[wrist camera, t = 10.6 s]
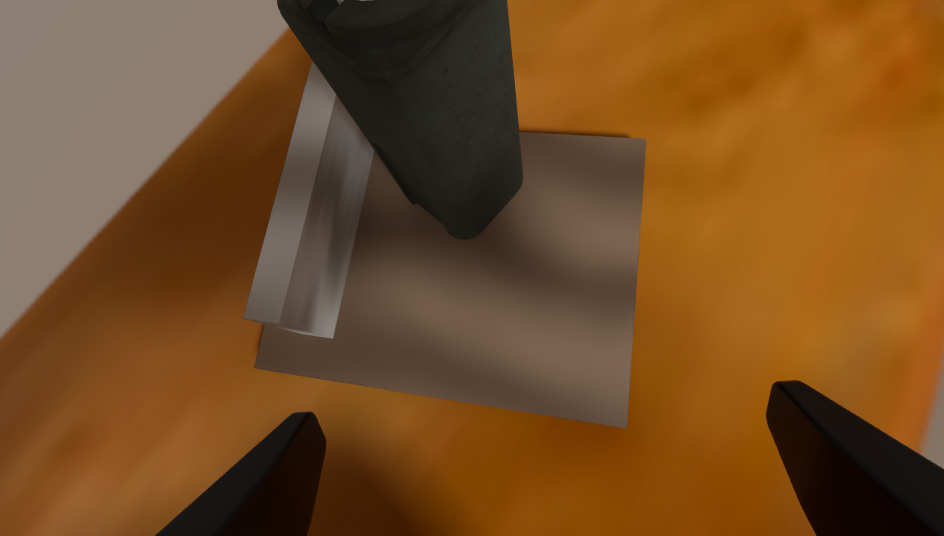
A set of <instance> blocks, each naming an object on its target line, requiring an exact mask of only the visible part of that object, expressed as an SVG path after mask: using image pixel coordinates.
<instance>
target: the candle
mask: <svg viewBox="0 0 944 536" xmlns="http://www.w3.org/2000/svg"><path fill="white" fill-rule="evenodd" d="M277 5H278V8H279V10H280V13H281V15H282V17H283V18H284V19H285V21H286V22H287V24H288V25H289V27H290V28H291V30H292V31H293V33H294V34H295V35H296V37H297V38H298V40H299V41H300V43H301V44H302V46H303V47H304V49H305V50H306V51H307V53H308V54H309V56H310V57H311V59H312V60H313V62H314V63H315V65H316V66H317V67H318V69H319V70H320V72H321V73H322V75H323V76H324V78H325V79H326V81H327V82H328V84H329V85H330V86H331V88H332V89H333V91H334V92H335V94H336V95H337V97H338V98H339V100H340V101H341V102H342V104H343V105H344V107H345V108H346V110H347V111H348V113H349V114H350V116H351V117H352V118H353V120H354V121H355V123H356V124H357V126H358V127H359V129H360V130H361V132H362V133H363V134H364V136H365V137H366V139H367V140H368V142H369V143H370V145H371V146H372V148H373V149H374V150H375V152H376V153H377V155H378V156H379V158H380V159H381V161H382V162H383V164H384V165H385V166H386V168H387V169H388V171H389V172H390V174H391V175H392V177H393V178H394V180H395V181H396V182H397V184H398V185H399V187H400V188H401V190H402V191H403V193H404V194H405V196H406V197H407V198H408V200H409V201H410V202H411V203H412V204H413V205H415V204H419V205H420V206H421V207H422V208H423V209H425V210H426V211H427V212H428V213H430V214H431V215H432V216H433V217H434V218H436V219H437V220H438V221H439V222H441V223H442V224H443V225H444V227H445V228H446V230H447V232H448V234H450V235H451V236H453V237H454V238H457V239H466V240H467V239H471V238H474V237H476V236H478V235H479V234H480V233H481V232H482V231H483V230H484V229H485V228H486V227H487V226H488V225H489V224H490V223H491V221H492V220H493V219H494V218H495V217H496V216H497V215H498V214H499V212H500V211H501V210H502V209H503V208H504V207H505V206H506V205H507V203H508V202H509V201H510V200H511V199H512V198H513V197H514V196H515V194H516V193H517V192H518V191H519V189H520V188H521V186H522V183H523V168H522V157H521V146H520V135H519V124H518V114H517V103H516V92H515V81H514V70H513V60H512V49H511V38H510V27H509V17H508V6H507V0H277Z"/></svg>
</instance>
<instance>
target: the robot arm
mask: <svg viewBox="0 0 944 536" xmlns="http://www.w3.org/2000/svg"><path fill="white" fill-rule="evenodd" d="M766 419H767V424H768V427H769V429H770V432H771V434H772V437H773V439H774V442H775V444H776V446H777V449H778V451H779V454H780V456H781V459H782V461H783V464H784V466H785V469H786V471H787V473H788V476H789V478H790V481H791V483H792V486H793V488H794V491H795V493H796V495H797V498H798V500H799V502H800V505H801V507H802V509H803V511H804V513H805V515H806V517H807V519H808V521H809V522H810V524H811V526H812V528H813V530H814V532H815V534H816V535H817V536H944V469H943V468H941V467H940V466H938V465H937V464H935V463H933V462H931V461H930V460H928V459H927V458H925V457H924V456H922V455H920V454H919V453H917V452H915V451H914V450H912V449H911V448H909V447H907V446H906V445H904V444H902V443H901V442H899V441H898V440H896V439H894V438H893V437H891V436H889V435H888V434H886V433H885V432H883V431H881V430H880V429H878V428H876V427H875V426H873V425H872V424H870V423H868V422H867V421H865V420H863V419H862V418H860V417H859V416H857V415H855V414H854V413H852V412H850V411H849V410H847V409H846V408H844V407H842V406H841V405H839V404H837V403H836V402H834V401H832V400H831V399H829V398H828V397H826V396H824V395H823V394H821V393H819V392H818V391H816V390H815V389H813V388H811V387H810V386H808V385H806V384H805V383H803V382H801V381H798V380H790V381H777V382H775V383H774V384H773V385H772V388H771V392H770V397H769V401H768V406H767V411H766ZM325 451H326V439H325V436H324V434H323V431H322V429H321V427H320V425H319V422H318V420H317V418H316V416H315V414H314V413H312V412H296V413H293V414H291V415H290V416H289V417H288V418H287V419H285V420H284V421H283V422H282V423H281V424H280V425H279V426H278V427H276V428H275V429H274V430H273V431H272V432H271V433H270V434H269V435H267V436H266V437H265V438H264V439H263V440H262V441H261V442H260V443H258V444H257V445H256V446H255V447H254V448H253V449H252V450H251V451H250V452H248V453H247V454H246V455H245V456H244V457H243V458H242V459H241V460H239V461H238V462H237V463H236V464H235V465H234V466H233V467H232V468H230V469H229V470H228V471H227V472H226V473H225V474H224V475H223V476H221V477H220V478H219V479H218V480H217V481H216V482H215V483H214V484H212V485H211V486H210V487H209V488H208V489H207V490H206V491H205V492H203V493H202V494H201V495H200V496H199V497H198V498H197V499H196V500H195V501H193V502H192V503H191V504H190V505H189V506H188V507H187V508H186V509H184V510H183V511H182V512H181V513H180V514H179V515H178V516H177V517H175V518H174V519H173V520H172V521H171V522H170V523H169V524H168V525H166V526H165V527H164V528H163V529H162V530H161V531H160V532H159V533H157V534H156V535H155V536H307V533H308V530H309V526H310V523H311V519H312V514H313V510H314V505H315V500H316V495H317V490H318V486H319V481H320V476H321V471H322V466H323V461H324V456H325Z"/></svg>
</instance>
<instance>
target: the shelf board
mask: <svg viewBox="0 0 944 536" xmlns="http://www.w3.org/2000/svg"><path fill="white" fill-rule="evenodd" d="M519 135H520V146H521V157H522V168H523V183H522V186H521V188H520V189H519V191H518V192H517V193H516V194H515V196H514V197H513V198H512V199H511V200H510V201H509V202H508V203H507V205H506V206H505V207H504V208H503V209H502V210H501V211H500V212H499V214H498V215H497V216H496V217H495V218H494V219H493V220H492V221H491V223H490V224H489V225H488V226H487V227H486V228H485V229H484V230H483V231H482V232H481V233H480V234H479V235H478V236H476V237H474V238H471V239H467V240H466V239H457V238H454V237H453V236H451V235H450V234H448V232H447V230H446V228H445V227H444V225H443V224H442V223H441V222H439V221H438V220H437V219H436V218H434V217H433V216H432V215H431V214H430V213H428V212H427V211H426V210H425V209H423V208H422V207H421V206H420V205H419V204H415V205H413V204H412V203H411V202H410V201H409V200H408V198H407V197H406V196H405V194H404V193H403V191H402V190H401V188H400V187H399V185H398V184H397V182H396V181H395V180H394V178H393V177H392V175H391V174H390V172H389V171H388V169H387V168H386V166H385V165H384V164H383V162H382V161H381V159H380V158H379V156H378V155H377V153H376V152H375V150H374V149H373V148H372V146H371V145H370V143H369V142H368V140H367V139H366V137H365V136H364V134H363V133H362V132H361V130H360V129H359V127H358V126H357V124H356V123H355V121H354V120H353V118H352V117H351V116H350V114H349V113H348V111H347V110H346V108H345V107H344V105H343V104H342V102H341V101H340V100H339V98H338V97H337V95H336V94H335V92H334V91H333V89H332V88H331V86H330V85H329V84H328V82H327V81H326V79H325V78H324V76H323V75H322V73H321V72H320V70H319V69H318V67H317V66H316V65H315V63H311V67H310V70H309V74H308V78H307V82H306V85H305V89H304V93H303V96H302V100H301V104H300V108H299V111H298V115H297V119H296V123H295V126H294V130H293V134H292V138H291V141H290V145H289V149H288V152H287V156H286V160H285V164H284V167H283V171H282V175H281V179H280V182H279V186H278V190H277V193H276V197H275V201H274V205H273V208H272V212H271V216H270V220H269V223H268V227H267V231H266V235H265V238H264V242H263V246H262V249H261V253H260V257H259V261H258V264H257V268H256V272H255V276H254V279H253V283H252V287H251V291H250V294H249V298H248V302H247V305H246V309H245V313H244V317H243V319H247V320H250V321H254V322H258V323H262V324H265V327H264V331H263V335H262V338H261V342H260V346H259V350H258V354H257V358H256V362H255V366H254V368H256V369H262V370H268V371H275V372H281V373H287V374H293V375H299V376H305V377H312V378H318V379H324V380H330V381H336V382H343V383H349V384H355V385H361V386H367V387H374V388H380V389H386V390H392V391H398V392H405V393H411V394H417V395H423V396H429V397H436V398H442V399H448V400H454V401H460V402H466V403H473V404H479V405H485V406H491V407H497V408H504V409H510V410H516V411H522V412H528V413H535V414H541V415H547V416H553V417H559V418H566V419H572V420H578V421H584V422H590V423H596V424H603V425H609V426H615V427H621V428H627V417H628V402H629V387H630V372H631V357H632V343H633V328H634V313H635V298H636V283H637V269H638V254H639V239H640V224H641V210H642V195H643V180H644V165H645V150H646V139H638V138H620V137H602V136H584V135H567V134H549V133H531V132H519Z"/></svg>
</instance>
